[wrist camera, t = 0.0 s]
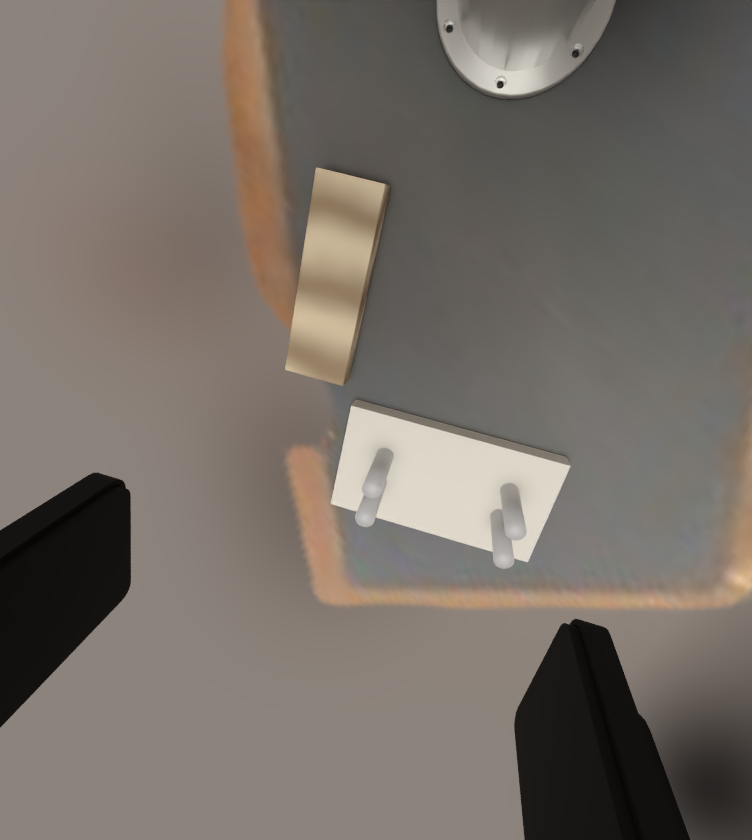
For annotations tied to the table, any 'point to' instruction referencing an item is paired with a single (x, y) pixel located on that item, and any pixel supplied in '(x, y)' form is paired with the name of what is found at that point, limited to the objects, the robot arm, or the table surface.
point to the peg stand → (447, 481)
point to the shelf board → (335, 274)
